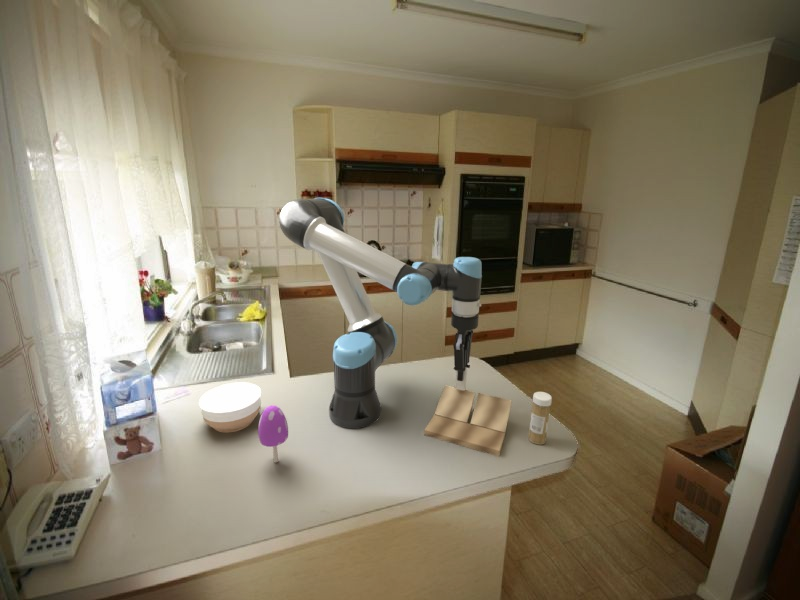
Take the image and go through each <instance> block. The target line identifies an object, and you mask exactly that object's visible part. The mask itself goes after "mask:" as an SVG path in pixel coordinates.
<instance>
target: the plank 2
mask: <svg viewBox="0 0 800 600" xmlns="http://www.w3.org/2000/svg"><path fill="white" fill-rule="evenodd" d="M512 403H513V400H511V399H507V398H504V397H503V398H502V397H498V396H493V395H489V394H485V393H482V392H481V393H480V392H478V394H477V398H476V402H475V405H474V410H473V412H472V416H471V419H470V422H469V424H472V425H476V426H480V427H483V428H487V429H491V430H495V431H499V432H503V433H505V434H506V432H507V427H508V422H509V417H510V414H511V413H510V412H511V408H512Z"/></svg>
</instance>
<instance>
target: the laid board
mask: <svg viewBox="0 0 800 600" xmlns="http://www.w3.org/2000/svg"><path fill="white" fill-rule="evenodd" d="M423 435H424V436H426V437H430V438H433V439H437V440H440V441H444V442H448V443H450V444H454V445H459V446H460V447H461V446H462V447H466V448H468V449H472V450H476V451H479V452H481V453H482V452H483V453H486V454H490V455H494V456H497V457H500V454H501V451H502V447H503V443H504V440H505V437H506V432H505V433H503V432H499V431H495V430H491V429H487V428H483V427H480V426H476V425H472V424H470V423H464V422H460V421H456V420H453V419H449V418H445V417H441V416H437V415H435V414H433V416H432V417H431V419H430V421H429V422H428V424H427V425H426V427H425V428H424V432H423Z"/></svg>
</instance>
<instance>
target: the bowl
mask: <svg viewBox="0 0 800 600" xmlns="http://www.w3.org/2000/svg"><path fill="white" fill-rule="evenodd" d="M261 396H262V389H261V387H259V386H258V385H256V384H253V383H251V382H240V381H239V382H238V381H237V382H230V383H225V384H222V385H219V386H216V387H214V388H211V389H210V390H208V391H206V392H204V394H202V396H201V397H200V399H198V400H199V401H198V407H199V408H200V409H201V412H200V413H201V416H202V418H203V421H204V422H205V423H206V424H207V425H208V426H209V427H211V428H213V429H214V430H215V431H216V432H218V433H227V434H229V433H235V432H238V431H240V430H241V431H242V430H244V429H245V428H247V427H248V426H250V425H251V424H252V423H253V422H254V419H255V418H256V417H257V415H258V414H259V412H260V410H261V405H262V400H261V399H262V398H261Z"/></svg>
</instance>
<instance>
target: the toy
mask: <svg viewBox="0 0 800 600" xmlns="http://www.w3.org/2000/svg"><path fill="white" fill-rule="evenodd" d="M257 433H258V441H259V442H260V444H261V445H262V446H264V447H269V448H270V447H271V448H272V455H273V462H274V463H276V464H277V463H278V462H279V454H278V446H279V445H280V446H281V445H282V444H283V443H285V442H286V441H287V439H288V438H289V425H288V421H287V418H286V416H285V413H284V412H283V410H282V409H281V408H280V407H278V406H277V405H273V404H272V405H269V406H267V407H265V409H264V410H263V411H262V413H261V415H260V417H259V422H258V432H257Z"/></svg>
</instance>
